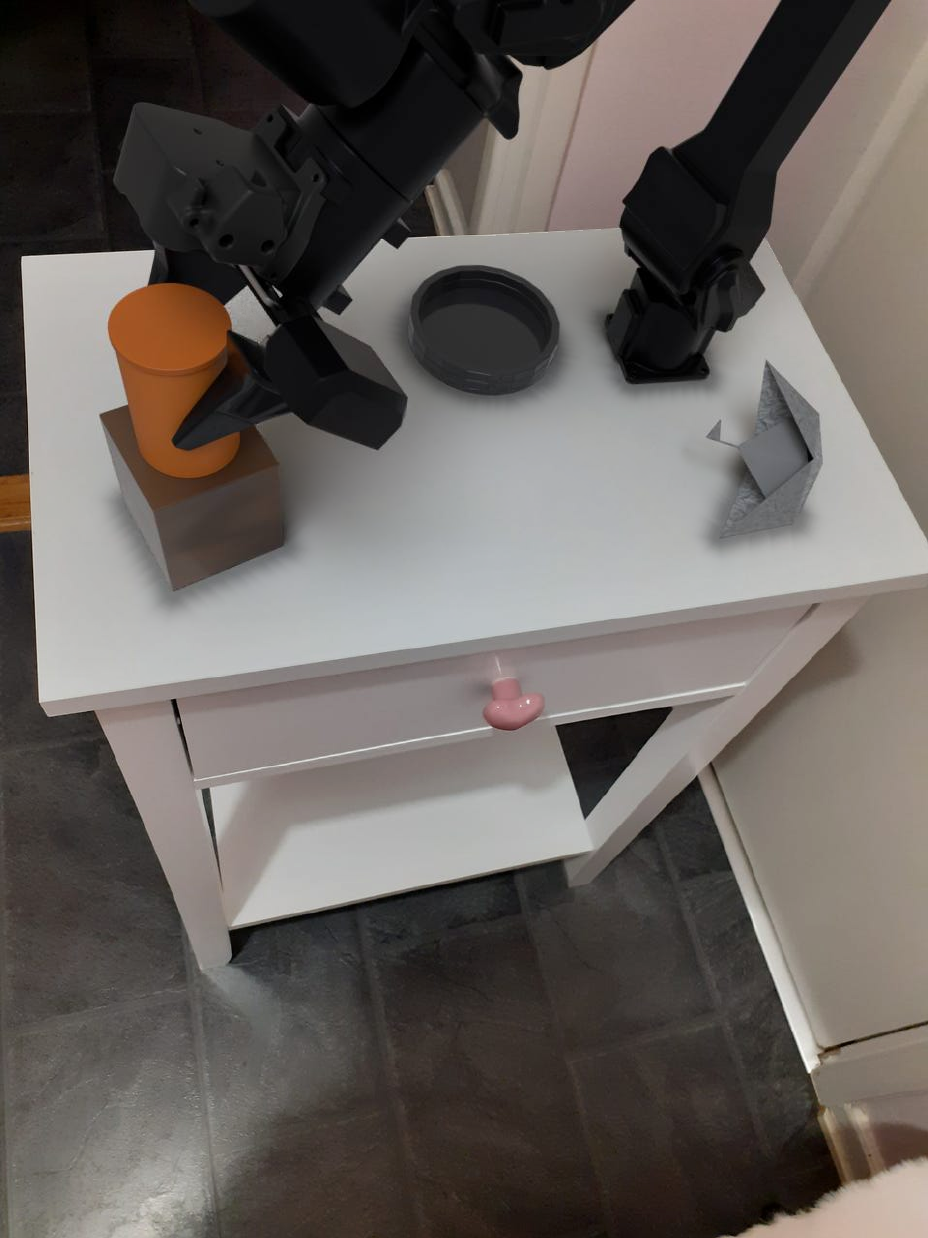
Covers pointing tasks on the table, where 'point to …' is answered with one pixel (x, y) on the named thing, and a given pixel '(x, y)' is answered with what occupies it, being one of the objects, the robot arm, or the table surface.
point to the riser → (199, 505)
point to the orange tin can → (171, 370)
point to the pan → (482, 329)
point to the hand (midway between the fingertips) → (155, 406)
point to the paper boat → (776, 459)
